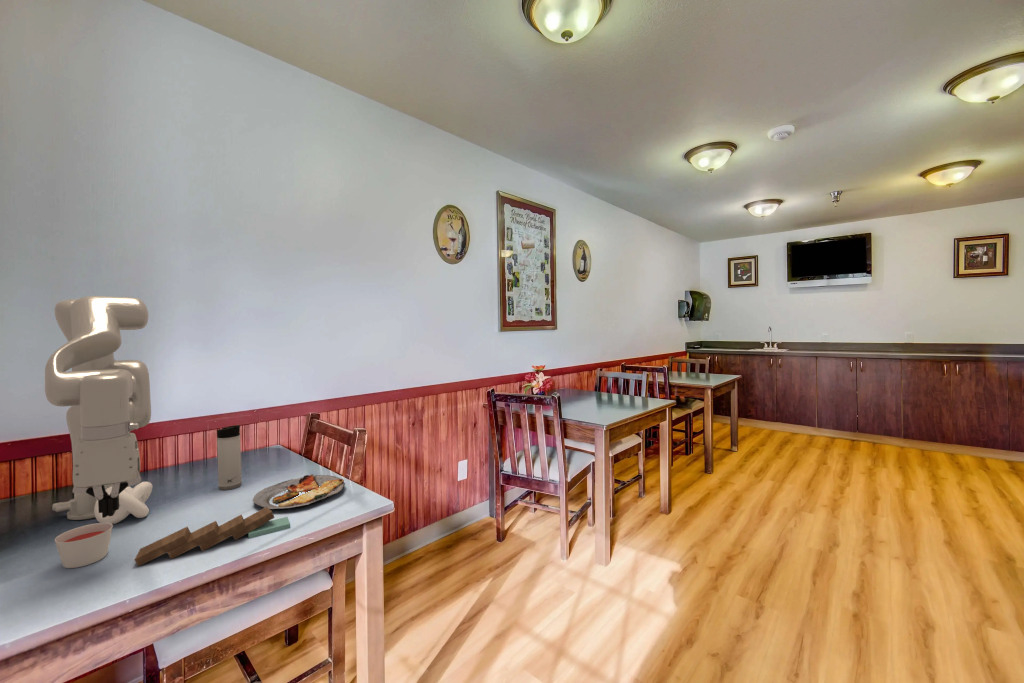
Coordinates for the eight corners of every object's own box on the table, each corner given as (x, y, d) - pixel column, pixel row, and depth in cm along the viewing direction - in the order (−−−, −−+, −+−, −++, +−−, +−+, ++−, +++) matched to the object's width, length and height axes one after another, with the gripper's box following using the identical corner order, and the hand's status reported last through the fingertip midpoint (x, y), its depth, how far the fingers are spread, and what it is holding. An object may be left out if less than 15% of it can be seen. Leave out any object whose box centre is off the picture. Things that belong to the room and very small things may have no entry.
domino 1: (134, 559, 89) (183, 535, 93) (140, 548, 93) (187, 526, 98) (138, 566, 89) (187, 542, 94) (144, 555, 94) (190, 532, 98)
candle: (124, 548, 97) (123, 522, 97) (86, 571, 88) (85, 541, 88) (85, 550, 97) (84, 523, 96) (42, 572, 88) (41, 543, 88)
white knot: (164, 514, 115) (163, 482, 115) (106, 533, 105) (104, 498, 104) (147, 506, 121) (146, 476, 121) (90, 523, 110) (89, 490, 110)
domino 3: (198, 545, 95) (242, 521, 100) (199, 536, 99) (241, 514, 104) (202, 551, 95) (245, 527, 100) (202, 542, 99) (244, 520, 104)
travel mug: (234, 490, 132) (232, 427, 132) (213, 490, 132) (211, 428, 132) (247, 483, 139) (245, 423, 138) (227, 483, 139) (225, 423, 138)
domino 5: (248, 534, 101) (290, 523, 106) (247, 526, 105) (287, 516, 110) (248, 541, 101) (290, 530, 106) (247, 533, 105) (287, 523, 110)
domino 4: (232, 533, 99) (272, 511, 105) (227, 528, 103) (266, 506, 109) (235, 540, 100) (274, 517, 106) (230, 534, 103) (269, 512, 109)
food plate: (315, 476, 144) (315, 466, 144) (360, 489, 132) (360, 478, 132) (238, 504, 123) (237, 493, 122) (283, 523, 111) (282, 510, 110)
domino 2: (167, 552, 92) (214, 529, 96) (171, 542, 96) (215, 520, 100) (171, 559, 92) (217, 535, 96) (174, 549, 96) (219, 527, 101)
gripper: (154, 423, 97) (156, 500, 98) (62, 431, 88) (66, 516, 89) (148, 430, 90) (151, 512, 91) (49, 440, 82) (53, 531, 83)
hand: (109, 514), depth 90 cm, fingers closed
